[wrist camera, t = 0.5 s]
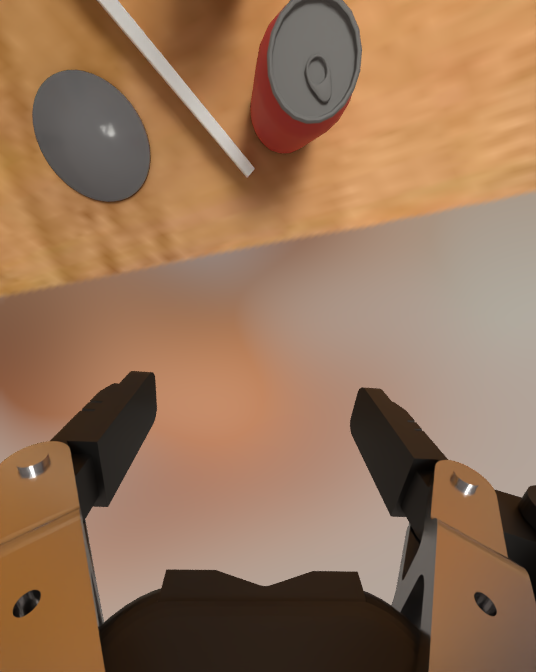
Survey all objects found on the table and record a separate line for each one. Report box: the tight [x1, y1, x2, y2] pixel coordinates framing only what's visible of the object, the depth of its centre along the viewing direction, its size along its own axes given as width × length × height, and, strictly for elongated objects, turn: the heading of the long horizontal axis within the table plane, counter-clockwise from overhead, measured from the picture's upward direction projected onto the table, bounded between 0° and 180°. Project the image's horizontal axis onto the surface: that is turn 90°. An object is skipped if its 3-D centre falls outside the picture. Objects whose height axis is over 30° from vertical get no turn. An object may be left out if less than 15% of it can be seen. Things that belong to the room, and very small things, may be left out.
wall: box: [97, 0, 255, 178], centre depth 22 cm, size 22×1×3 cm, turn 44°
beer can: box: [250, 0, 362, 153], centre depth 20 cm, size 7×7×12 cm
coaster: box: [33, 70, 150, 202], centre depth 25 cm, size 10×10×1 cm
